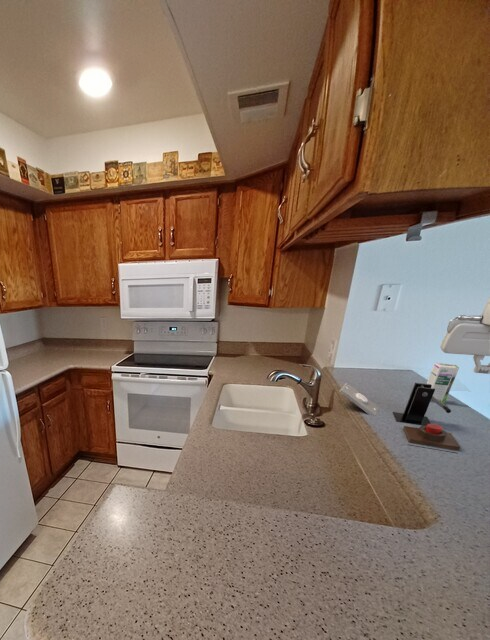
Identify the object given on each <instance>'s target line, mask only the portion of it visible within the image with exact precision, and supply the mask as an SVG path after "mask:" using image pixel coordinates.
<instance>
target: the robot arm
mask: <svg viewBox="0 0 490 640" xmlns="http://www.w3.org/2000/svg"><path fill="white" fill-rule="evenodd" d="M440 349H441V351H442V352H443V353H444V354H453V355H464V356H465V355H466V356H467V355H468V356H472V359H473V362H474V365H475V366H474V368H473V373H475V374H486V375H490V362H488V363H487V364H486V365H485V364H482V362H481V361H484V360H485V357H490V297H489V298H488V299H487V301H486V304H485V306H484V308H483V311H482V313H481V315H466V314H463V315H461V314H460V315H458V316H456V317H454V318H452V319H450V321H449V322H448V324H447V328H446V334H445V336H444V337H443V340H442V342H441V344H440Z"/></svg>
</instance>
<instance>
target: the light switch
mask: <svg viewBox="0 0 490 640" xmlns="http://www.w3.org/2000/svg"><path fill="white" fill-rule="evenodd" d="M339 393H341V394H342V395H343V396H344V397H345V398H347V399H348V400H349V401H351V402H352V403H353V404H355V405H356V406H357V407H358V408H360V409H361V410H362V411H364V412H365V414H367V415H369V416H373V417H374V416H377V414H378V412H379V411H380V409H381V408H380V407H379V406H378V405H377V404H375V403H374V402H372V401H371V400H370V399H369V398H367V397H366V396H365V395H364V394H362V393H360V392H359V391H358V390H357V389H355V388H354V387H353V386H352V385H350V384H349V383H348V382H346V383H345V384H343V386H341V388H340V389H339Z"/></svg>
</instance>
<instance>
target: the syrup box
mask: <svg viewBox="0 0 490 640" xmlns="http://www.w3.org/2000/svg"><path fill="white" fill-rule="evenodd" d="M459 370H460V367H459V366H458V365H457V364H456V363H455V364H454V363H446V362H445V363H444V362H434V363H433V365H432V369H431V371H430V374H429V376H428V379H427V382H426V384H431V385H432V387H431V388H434V389H435V391H434V394H433V397H435V398H436V399H437V400H439V401H440V402H442V403H443V404H446V400H447V399H448V396H449V394H450V391H451V389H452V386H453V384H454V381H455V379H456V377H457V374H458V372H459ZM430 403H433V404H436V403H435V402H433V401H432V400H431V401H430Z"/></svg>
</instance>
